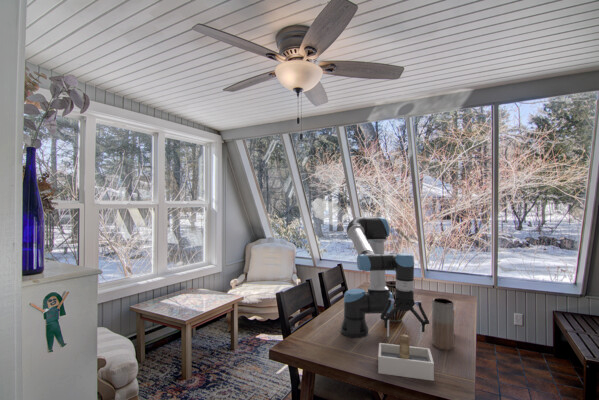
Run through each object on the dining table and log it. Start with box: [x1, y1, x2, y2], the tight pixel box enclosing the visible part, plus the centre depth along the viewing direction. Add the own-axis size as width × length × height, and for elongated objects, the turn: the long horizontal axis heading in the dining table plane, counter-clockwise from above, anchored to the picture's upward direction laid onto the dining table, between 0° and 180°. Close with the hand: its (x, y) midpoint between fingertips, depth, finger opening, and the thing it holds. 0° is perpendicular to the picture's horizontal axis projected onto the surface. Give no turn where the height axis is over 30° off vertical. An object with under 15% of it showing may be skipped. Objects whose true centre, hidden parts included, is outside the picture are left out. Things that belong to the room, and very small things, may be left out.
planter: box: [431, 297, 455, 351], centre depth 163 cm, size 10×10×23 cm
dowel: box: [399, 334, 410, 359], centre depth 140 cm, size 4×4×14 cm
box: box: [377, 342, 435, 382], centre depth 140 cm, size 22×14×7 cm, turn 75°
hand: (404, 337), depth 141 cm, fingers open, 13 cm apart
